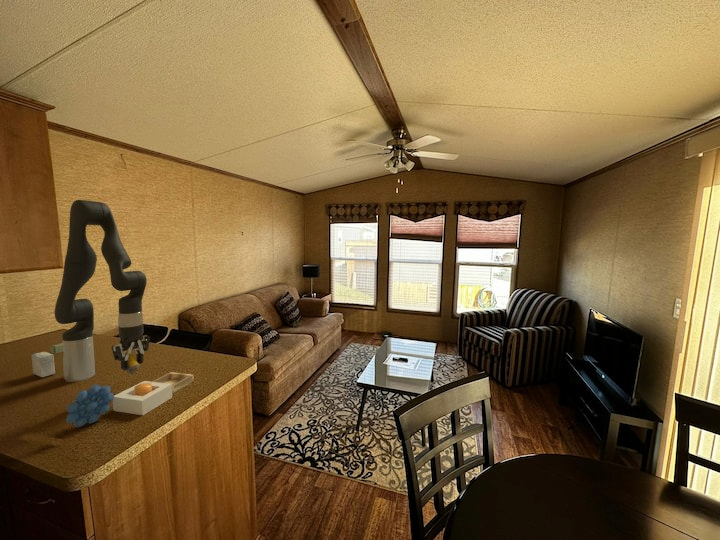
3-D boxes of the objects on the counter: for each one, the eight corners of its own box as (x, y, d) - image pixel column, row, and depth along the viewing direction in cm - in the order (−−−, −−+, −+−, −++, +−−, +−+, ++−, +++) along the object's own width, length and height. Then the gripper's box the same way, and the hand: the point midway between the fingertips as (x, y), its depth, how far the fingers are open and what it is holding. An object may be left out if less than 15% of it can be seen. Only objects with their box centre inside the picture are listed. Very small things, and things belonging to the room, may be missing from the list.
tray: (147, 391, 116) (147, 384, 116) (170, 378, 127) (170, 372, 126) (172, 394, 114) (171, 387, 113) (193, 381, 124) (193, 374, 124)
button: (131, 401, 105) (130, 388, 105) (144, 394, 110) (143, 382, 110) (143, 402, 104) (142, 390, 104) (155, 395, 109) (155, 383, 109)
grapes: (110, 410, 103) (108, 376, 102) (117, 417, 99) (115, 381, 98) (63, 427, 93) (60, 389, 92) (69, 435, 89) (66, 396, 88)
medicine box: (55, 373, 130) (54, 354, 129) (41, 377, 126) (39, 357, 125) (46, 370, 133) (45, 351, 132) (32, 374, 129) (30, 354, 128)
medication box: (54, 354, 152) (54, 347, 151) (50, 353, 152) (50, 346, 152) (81, 346, 163) (81, 339, 163) (77, 345, 164) (77, 338, 163)
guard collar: (113, 410, 103) (112, 396, 102) (145, 393, 114) (144, 380, 114) (142, 415, 100) (142, 400, 100) (172, 397, 112) (171, 384, 111)
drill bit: (132, 377, 114) (126, 351, 114) (120, 378, 115) (115, 352, 115) (144, 371, 119) (139, 346, 119) (133, 372, 120) (128, 348, 120)
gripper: (140, 318, 123) (141, 358, 125) (103, 327, 109) (105, 373, 111) (155, 319, 121) (156, 360, 123) (120, 329, 107) (122, 375, 109)
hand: (132, 366), depth 117 cm, fingers closed on drill bit, 5 cm apart
